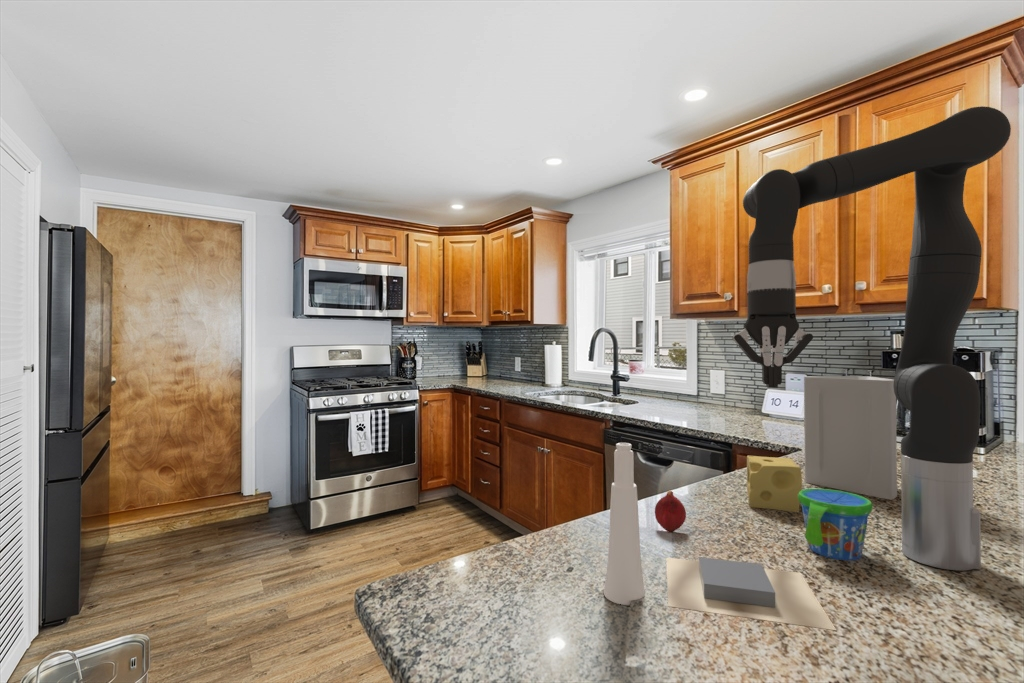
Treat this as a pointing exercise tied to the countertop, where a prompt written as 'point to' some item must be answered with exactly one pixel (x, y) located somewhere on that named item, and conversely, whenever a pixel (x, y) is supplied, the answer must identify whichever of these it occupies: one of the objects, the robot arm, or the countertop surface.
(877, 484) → the white grooved panel
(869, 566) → the countertop surface
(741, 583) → the block
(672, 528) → the onion
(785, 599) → the board
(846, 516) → the snack cup
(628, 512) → the cosmetic bottle
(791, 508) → the cheese
